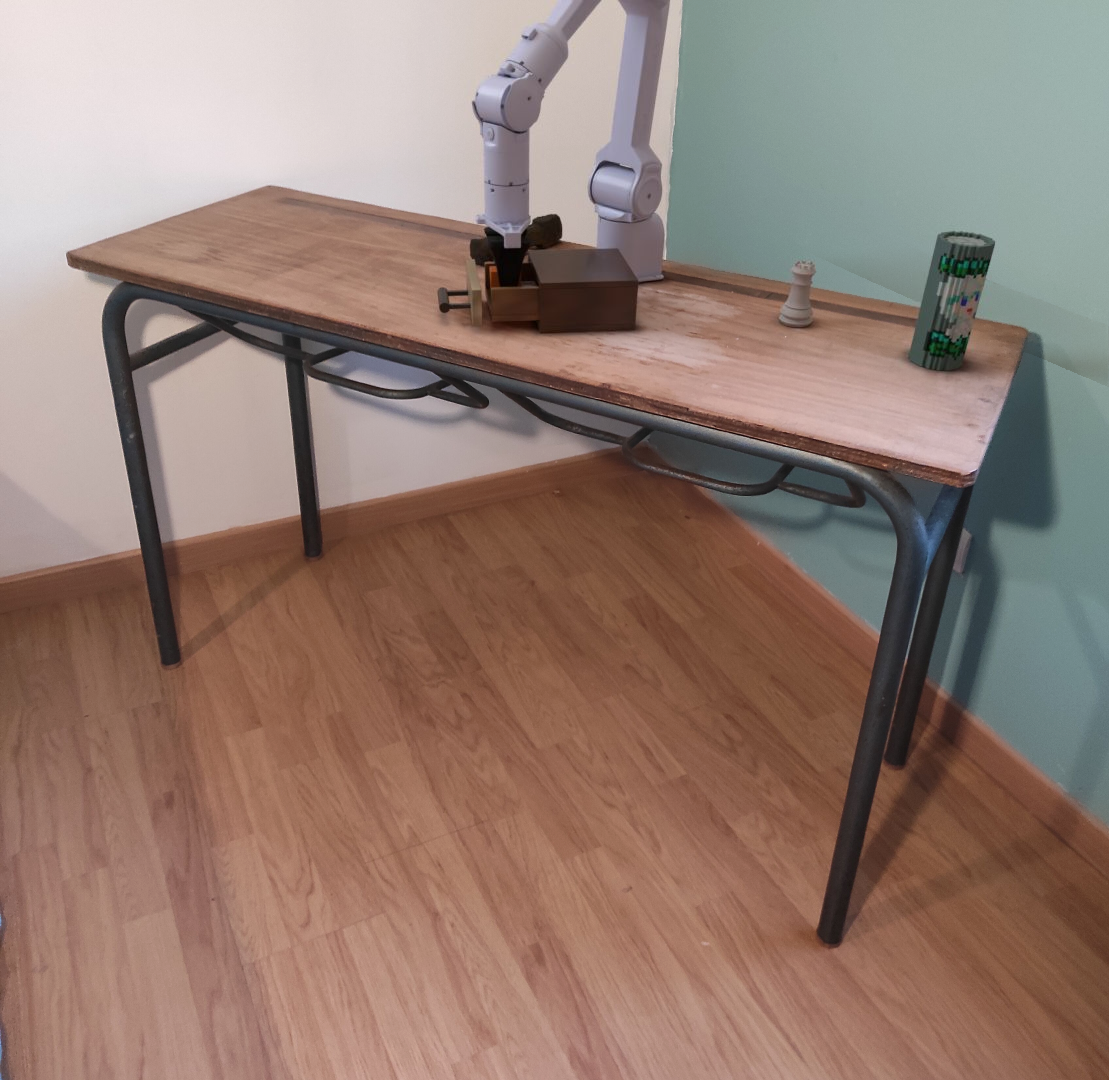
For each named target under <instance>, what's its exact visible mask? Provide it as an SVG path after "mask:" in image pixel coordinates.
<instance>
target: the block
mask: <svg viewBox="0 0 1109 1080" xmlns="http://www.w3.org/2000/svg"><path fill="white" fill-rule="evenodd" d="M524 286H537V285H536V282H535V281H521V272H520V278H519V283H518V287H524ZM491 287H500V284H499V280H498V274H497V268H496V266H490V291H491Z"/></svg>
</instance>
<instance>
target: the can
mask: <svg viewBox="0 0 1109 1080" xmlns="http://www.w3.org/2000/svg"><path fill="white" fill-rule="evenodd" d="M934 244H935V245H934V249H933V254H932V256H931V257H932V258H931V261H930V266H929V270H928V273H927V277H926V278H927V279H926V282H925V285H924V290H923V295H922V299H921V303H920V307H919V311H918V316H917V319H916V325H915V328H914V331H913V336H912V340H911V345H910V348H909V352H908V356H907V358H908V359H909V361H910V362H912V363H914V364H915V365H917V366H919V367H921V368H922V367H923V368H926V369H928V370H930V369H931V370H932V371H933V370H936V371H945V372H947V371H952V370H958V369H960V367H962V366H963V363H964V358H965V356H966V352H967V348H968V344H969V341H970V337H971V333H972V329H973V326H974V323H975V320H976V315H977V311H978V308H979V304H980V300H981V297H982V294H983V289H984V286H985V282H986V279H987V275H988V271H989V268H990V264H991V261H992V257H993V253H994V249H995V246H996V240H994V239H993V238H992V237H989V236H986V235H983V234H981V233H979V234H978V233H975V232H969V231H963V230H962V231H956V230H952V231H951V230H950V231H943V232H940V233H937V236H936V241H935V243H934Z"/></svg>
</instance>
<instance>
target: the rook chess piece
mask: <svg viewBox="0 0 1109 1080" xmlns="http://www.w3.org/2000/svg"><path fill="white" fill-rule="evenodd" d="M815 265H816V263H814V262H813V261H811V260H808V262H807V263H806V259H801V261H800V260H795V262H794V265H793V266H792V267H791V268H790V271H791V273H792V274H793V277H792V278H791V279H790V283H791V288H790V291H789V294H788V297H787V299H786V300H785V302H784V304H783V305H782V306H781V307H780V310H779V311H780V315H778V319H779V321H780V323H781V324H783V325H785V326H787V327H792V328H803V327H804V328H805V327H807V326H809V325H810V324H811V323H812V322H813V318H812V316H813V315H814V312H813V311H814V310H813V308H812V304H811V302H810V297H811V294H810V293H811V285H813V280H812V279H813V276H814V275H815V274H816V273H817V270H816V268H815Z"/></svg>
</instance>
